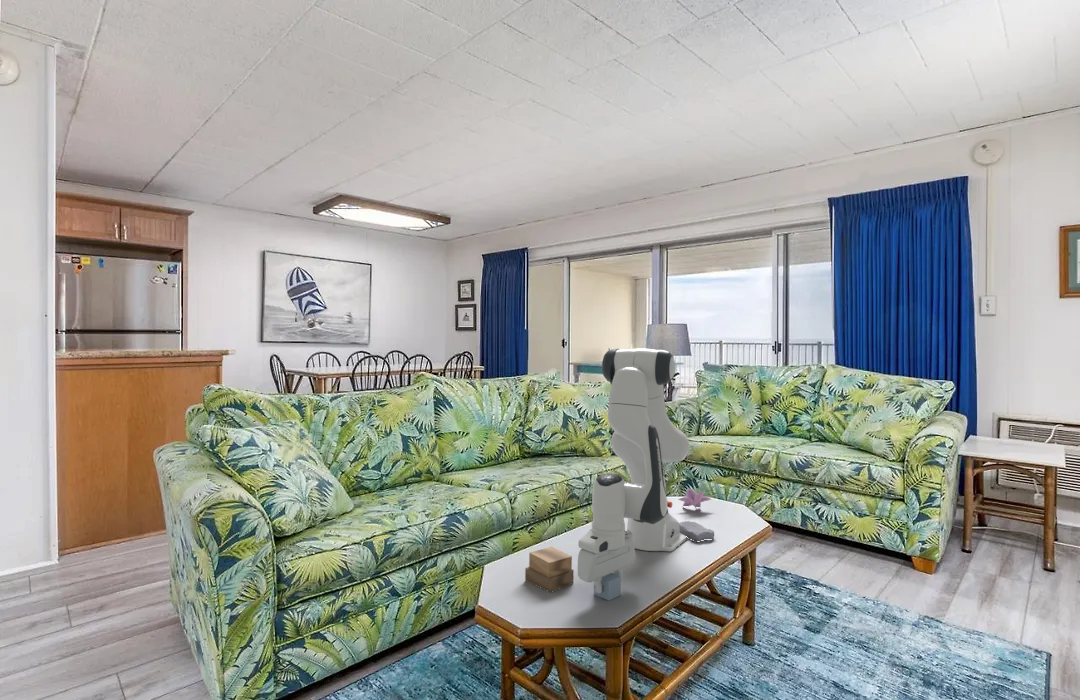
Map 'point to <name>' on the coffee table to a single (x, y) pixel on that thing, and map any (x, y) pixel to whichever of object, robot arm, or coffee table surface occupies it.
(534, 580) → the walnut block
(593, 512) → the robot arm
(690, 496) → the lily
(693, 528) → the stone block
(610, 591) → the slate cube
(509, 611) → the coffee table surface
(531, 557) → the teak block
